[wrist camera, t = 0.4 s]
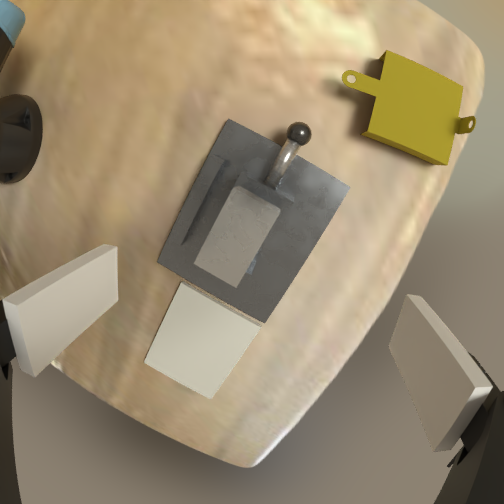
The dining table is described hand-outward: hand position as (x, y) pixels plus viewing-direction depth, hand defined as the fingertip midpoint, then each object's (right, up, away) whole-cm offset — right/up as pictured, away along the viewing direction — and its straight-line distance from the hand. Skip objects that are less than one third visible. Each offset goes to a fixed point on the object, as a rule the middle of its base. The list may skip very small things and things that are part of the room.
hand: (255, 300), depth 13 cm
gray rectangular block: (0, +6, +23) cm, 24 cm away
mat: (-8, -11, +30) cm, 33 cm away
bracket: (+17, +20, +19) cm, 33 cm away
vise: (0, +7, +24) cm, 25 cm away
